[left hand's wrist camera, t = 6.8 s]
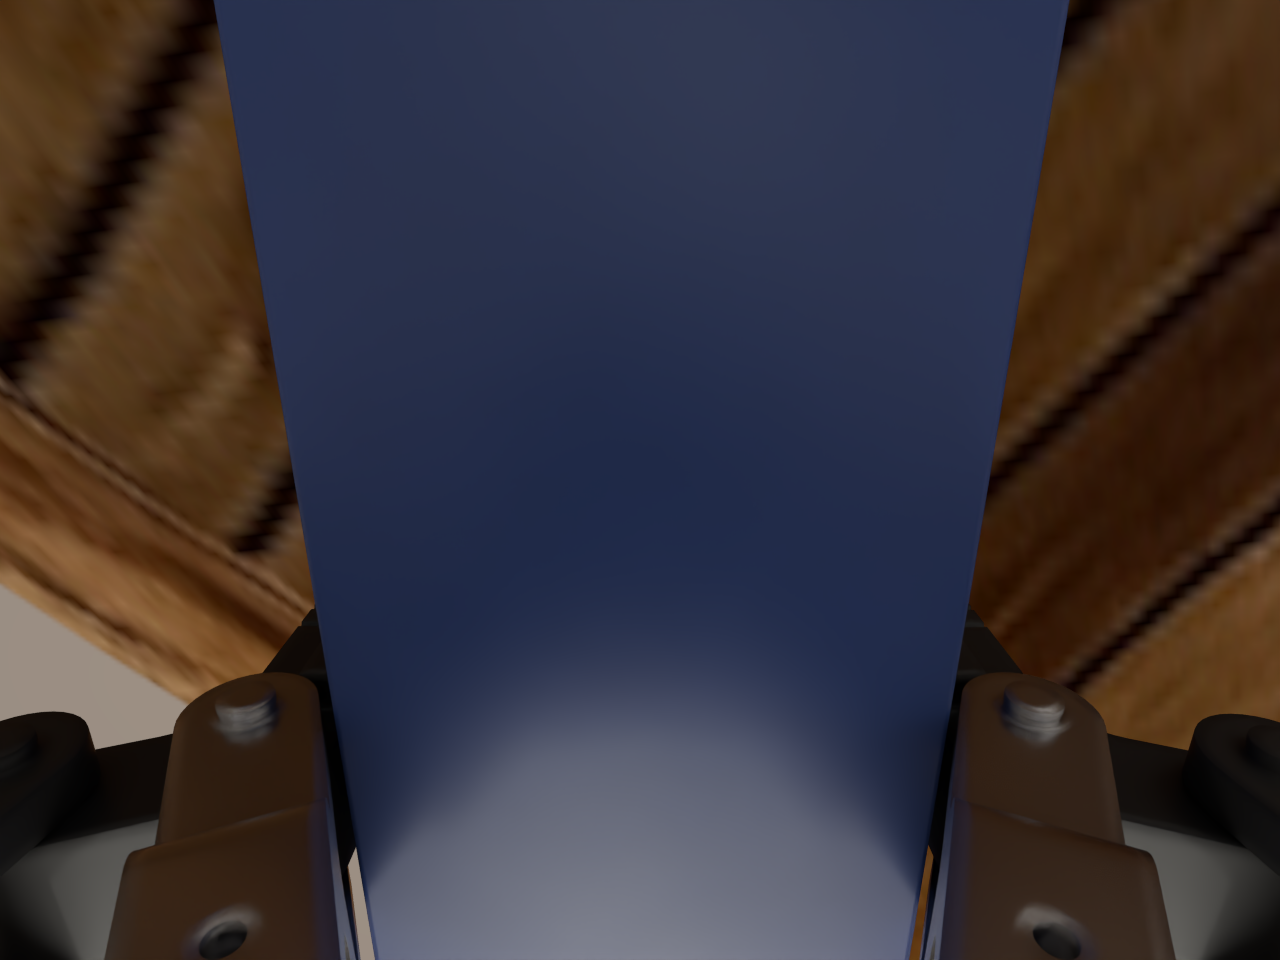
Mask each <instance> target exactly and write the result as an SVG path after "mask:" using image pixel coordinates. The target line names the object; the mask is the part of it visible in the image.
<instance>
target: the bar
mask: <svg viewBox="0 0 1280 960" xmlns="http://www.w3.org/2000/svg"><path fill="white" fill-rule="evenodd" d="M214 5H215V11H216V16H217V22H218V28H219V34H220V40H221V46H222V52H223V58H224V64H225V70H226V76H227V82H228V88H229V94H230V100H231V106H232V112H233V118H234V124H235V129H236V135H237V141H238V147H239V153H240V159H241V165H242V171H243V177H244V183H245V189H246V195H247V201H248V207H249V213H250V219H251V225H252V231H253V236H254V242H255V248H256V254H257V260H258V266H259V272H260V278H261V284H262V290H263V296H264V302H265V308H266V314H267V320H268V326H269V332H270V338H271V344H272V349H273V355H274V361H275V367H276V373H277V379H278V385H279V391H280V397H281V403H282V409H283V415H284V421H285V427H286V433H287V439H288V445H289V451H290V456H291V462H292V468H293V474H294V480H295V486H296V492H297V498H298V504H299V510H300V516H301V522H302V528H303V534H304V540H305V546H306V552H307V558H308V564H309V569H310V575H311V581H312V587H313V593H314V599H315V605H316V611H317V617H318V623H319V629H320V635H321V641H322V647H323V653H324V659H325V665H326V671H327V677H328V682H329V688H330V694H331V700H332V706H333V712H334V718H335V724H336V730H337V736H338V742H339V748H340V754H341V760H342V766H343V772H344V778H345V784H346V789H347V795H348V801H349V807H350V813H351V819H352V825H353V831H354V837H355V843H356V849H357V855H358V860H359V867H360V873H361V879H362V885H363V891H364V896H365V902H366V908H367V914H368V920H369V926H370V932H371V938H372V944H373V950H374V956H375V960H909V956H910V950H911V944H912V938H913V932H914V926H915V920H916V914H917V908H918V902H919V896H920V890H921V884H922V878H923V872H924V866H925V860H926V854H927V848H928V842H929V836H930V830H931V824H932V818H933V812H934V806H935V800H936V794H937V788H938V782H939V776H940V770H941V764H942V758H943V752H944V747H945V741H946V735H947V729H948V723H949V717H950V711H951V705H952V699H953V693H954V687H955V681H956V675H957V669H958V663H959V657H960V651H961V645H962V639H963V633H964V627H965V621H966V615H967V609H968V603H969V597H970V591H971V585H972V579H973V573H974V567H975V561H976V555H977V549H978V543H979V537H980V531H981V525H982V519H983V513H984V507H985V501H986V495H987V489H988V483H989V477H990V471H991V465H992V459H993V453H994V447H995V441H996V435H997V430H998V424H999V418H1000V412H1001V406H1002V400H1003V394H1004V388H1005V382H1006V376H1007V370H1008V364H1009V358H1010V352H1011V346H1012V340H1013V334H1014V328H1015V322H1016V316H1017V310H1018V304H1019V298H1020V292H1021V286H1022V280H1023V274H1024V268H1025V262H1026V256H1027V250H1028V244H1029V238H1030V232H1031V226H1032V220H1033V214H1034V208H1035V202H1036V196H1037V190H1038V184H1039V178H1040V172H1041V166H1042V160H1043V154H1044V148H1045V142H1046V136H1047V130H1048V124H1049V118H1050V112H1051V107H1052V101H1053V95H1054V89H1055V83H1056V77H1057V71H1058V65H1059V59H1060V53H1061V47H1062V41H1063V35H1064V29H1065V23H1066V17H1067V11H1068V5H1069V0H214Z"/></svg>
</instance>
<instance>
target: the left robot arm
mask: <svg viewBox="0 0 1280 960" xmlns="http://www.w3.org/2000/svg"><path fill="white" fill-rule="evenodd" d="M928 845H929V847H930V849H931V852H932V854H933V856H934V857H933V863H932V869H931V875H930V880H929V887H928V895H927V903H926V911H925V919H924V928H923V936H922V944H921V952H920V960H1280V722H1276V721H1273V720H1270V719H1265V718H1261V717H1256V716H1249V715H1243V714H1219V715H1214V716H1210V717H1207V718H1205V719H1203V720H1202V721H1200V722H1199V723H1198V724H1197V726H1196V728H1195V730H1194V734H1193V737H1192V740H1191V744H1190V747H1189V750H1183V749H1178V748H1173V747H1168V746H1163V745H1158V744H1153V743H1148V742H1143V741H1138V740H1133V739H1128V738H1124V737H1119V736H1115V735H1112V734H1108V733H1107V731H1106V726H1105V723H1104V720H1103V719H1102V717H1101V715H1100V714H1099V712H1098V711H1097V710H1096V709H1095V708H1094V707H1093V706H1092V705H1091V704H1090V703H1089V702H1087V701H1086V700H1085V699H1084V698H1082V697H1081V696H1079V695H1078V694H1076V693H1075V692H1073V691H1071V690H1069V689H1067V688H1065V687H1063V686H1061V685H1059V684H1056V683H1054V682H1051V681H1048V680H1045V679H1043V678H1039V677H1035V676H1031V675H1026V674H1023V673H1022V672H1021V670H1020V669H1019V668H1018V666H1017V665H1016V664H1015V663H1014V661H1013V660H1012V659H1011V657H1010V656H1009V655H1008V654H1007V652H1006V651H1005V650H1004V648H1003V647H1002V646H1001V645H1000V643H999V642H998V641H997V639H996V638H995V637H994V636H993V634H992V633H991V632H990V630H989V629H988V628H987V627H984V623H983V621H982V620H981V619H980V618H979V616H978V615H977V614H976V612H975V611H974V610H971V606H970V605H969V603H968V609H967V615H966V621H965V627H964V633H963V639H962V645H961V651H960V657H959V663H958V669H957V675H956V681H955V687H954V693H953V699H952V705H951V711H950V717H949V723H948V729H947V735H946V741H945V747H944V752H943V758H942V764H941V770H940V776H939V782H938V788H937V794H936V800H935V806H934V812H933V818H932V824H931V830H930V836H929V842H928ZM355 848H356V843H355V837H354V831H353V825H352V819H351V813H350V807H349V801H348V795H347V789H346V784H345V778H344V772H343V766H342V760H341V754H340V748H339V742H338V736H337V730H336V724H335V718H334V712H333V706H332V700H331V694H330V688H329V682H328V677H327V671H326V665H325V659H324V653H323V647H322V641H321V635H320V629H319V623H318V617H317V611H316V605H315V608H314V609H311V610H310V612H309V613H308V614H307V616H306V617H305V618H304V620H303V621H302V626H298V627H297V629H296V630H295V631H294V633H293V634H292V635H291V636H290V638H289V639H288V640H287V642H286V643H285V644H284V646H283V647H282V648H281V650H280V651H279V652H278V653H277V655H276V656H275V657H274V659H273V660H272V661H271V663H270V664H269V665H268V666H267V668H266V669H265V670H264V672H263V673H260V674H254V675H249V676H245V677H241V678H237V679H235V680H232V681H229V682H226V683H224V684H221V685H219V686H217V687H215V688H213V689H211V690H209V691H207V692H205V693H204V694H202V695H201V696H199V697H198V698H196V699H195V700H194V701H193V702H191V703H190V704H189V705H188V706H187V707H186V708H185V709H184V710H183V711H182V712H181V714H180V715H179V717H178V719H177V720H176V723H175V726H174V731H173V734H169V735H165V736H161V737H156V738H151V739H146V740H141V741H136V742H131V743H126V744H121V745H116V746H111V747H106V748H101V749H96V750H95V748H94V744H93V741H92V738H91V734H90V731H89V728H88V725H87V724H86V722H85V721H84V720H83V719H82V718H81V717H79V716H77V715H74V714H70V713H66V712H39V713H32V714H26V715H21V716H17V717H13V718H9V719H6V720H3V721H0V960H360V952H359V944H358V935H357V927H356V919H355V911H354V903H353V895H352V886H351V880H350V874H349V869H348V864H349V862H350V859H351V857H352V855H353V852H354V850H355Z"/></svg>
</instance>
